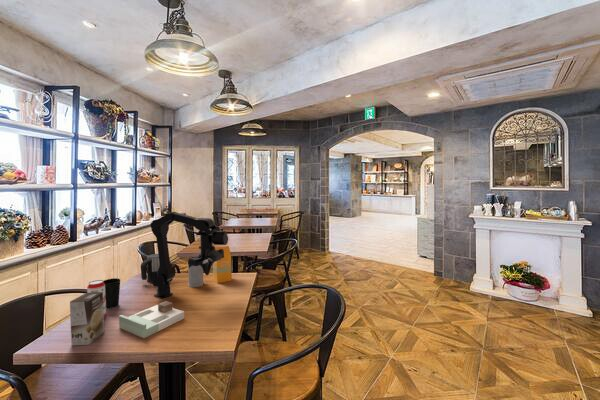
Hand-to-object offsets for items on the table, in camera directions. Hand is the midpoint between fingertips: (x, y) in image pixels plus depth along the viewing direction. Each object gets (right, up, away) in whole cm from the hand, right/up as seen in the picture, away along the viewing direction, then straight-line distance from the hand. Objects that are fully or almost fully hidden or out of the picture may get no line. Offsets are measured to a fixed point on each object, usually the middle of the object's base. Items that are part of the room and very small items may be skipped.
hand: (207, 275), depth 143 cm
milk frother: (-37, -11, +25) cm, 46 cm away
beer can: (-40, -14, -21) cm, 47 cm away
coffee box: (-33, -15, -36) cm, 51 cm away
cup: (-42, -13, -8) cm, 45 cm away
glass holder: (-14, -11, +23) cm, 29 cm away
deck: (-15, -14, -24) cm, 31 cm away
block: (-12, -10, -19) cm, 25 cm away
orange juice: (0, -11, +28) cm, 30 cm away
